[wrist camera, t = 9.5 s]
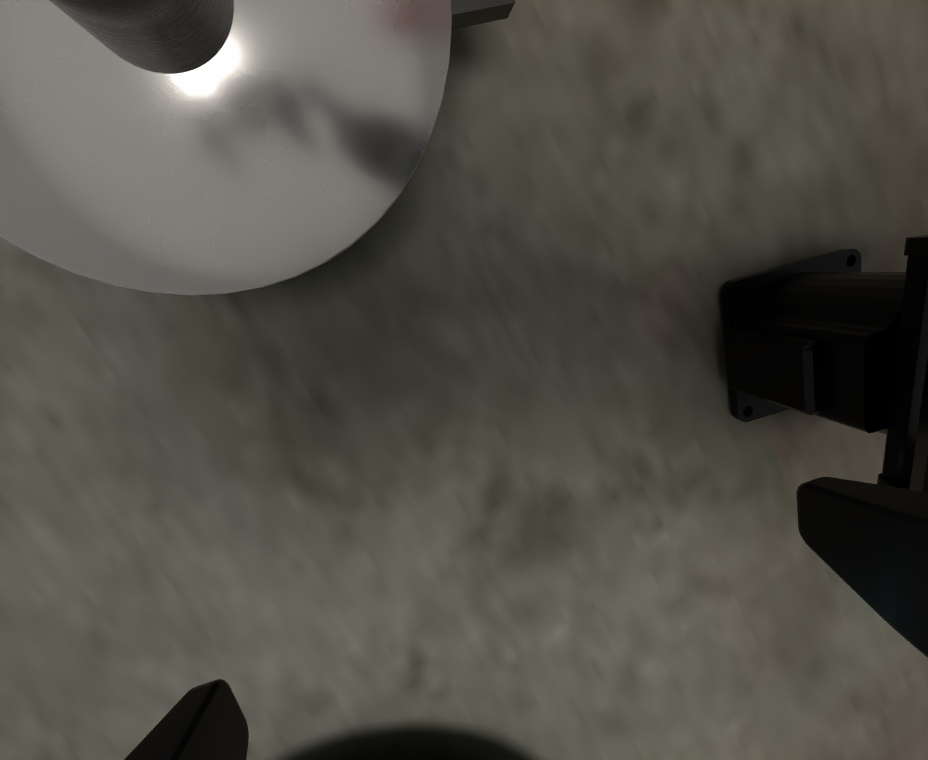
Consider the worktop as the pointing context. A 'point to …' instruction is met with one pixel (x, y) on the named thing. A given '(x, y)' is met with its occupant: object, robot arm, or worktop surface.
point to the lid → (210, 132)
